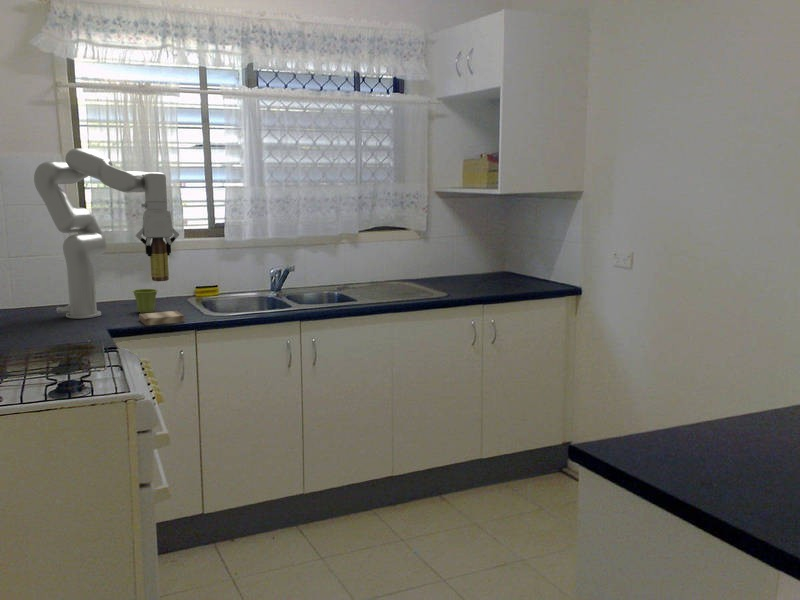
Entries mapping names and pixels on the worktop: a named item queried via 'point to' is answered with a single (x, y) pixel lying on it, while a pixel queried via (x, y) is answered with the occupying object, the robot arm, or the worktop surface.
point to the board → (161, 318)
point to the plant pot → (145, 299)
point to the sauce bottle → (159, 260)
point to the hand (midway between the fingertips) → (158, 255)
